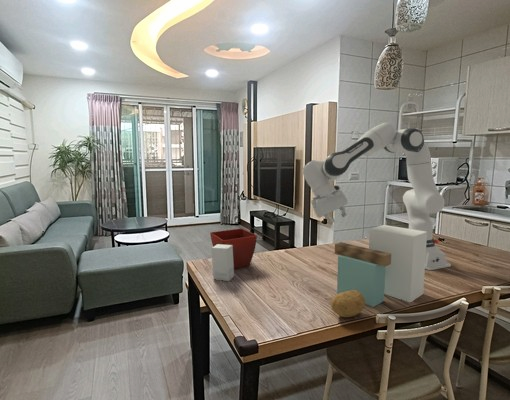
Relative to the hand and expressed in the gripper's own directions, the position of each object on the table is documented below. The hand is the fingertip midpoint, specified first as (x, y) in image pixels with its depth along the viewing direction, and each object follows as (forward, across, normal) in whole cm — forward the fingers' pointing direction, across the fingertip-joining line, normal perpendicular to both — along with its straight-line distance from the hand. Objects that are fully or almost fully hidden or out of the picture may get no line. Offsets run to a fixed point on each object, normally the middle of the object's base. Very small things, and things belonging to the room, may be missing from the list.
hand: (339, 219), depth 145 cm
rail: (+17, -14, -12) cm, 25 cm away
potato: (+31, -33, -10) cm, 46 cm away
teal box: (+31, -17, -4) cm, 35 cm away
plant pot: (-4, -31, +51) cm, 60 cm away
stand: (+37, -1, -8) cm, 37 cm away
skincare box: (-1, -46, +39) cm, 60 cm away
